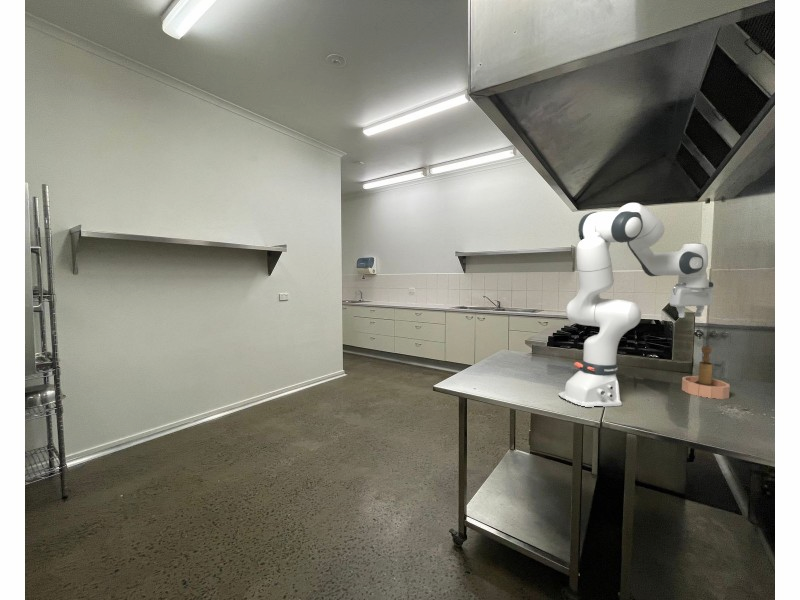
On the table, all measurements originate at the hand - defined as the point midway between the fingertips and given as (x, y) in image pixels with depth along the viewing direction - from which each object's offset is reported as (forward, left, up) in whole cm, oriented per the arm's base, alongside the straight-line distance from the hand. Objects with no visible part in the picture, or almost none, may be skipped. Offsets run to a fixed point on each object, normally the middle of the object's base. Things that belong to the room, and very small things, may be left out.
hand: (689, 317), depth 137 cm
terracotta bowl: (+2, -5, -30) cm, 31 cm away
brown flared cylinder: (+2, -5, -30) cm, 30 cm away
